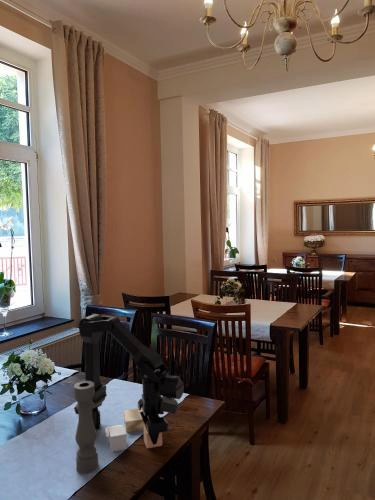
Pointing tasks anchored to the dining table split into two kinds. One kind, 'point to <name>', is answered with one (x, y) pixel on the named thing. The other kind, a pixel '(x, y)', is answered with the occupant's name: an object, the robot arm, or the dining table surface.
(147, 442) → the terracotta block
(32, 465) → the dining table surface
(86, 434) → the candle holder
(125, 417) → the maple base block
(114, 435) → the white cube
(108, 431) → the card
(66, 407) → the dining table surface
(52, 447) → the dining table surface
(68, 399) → the dining table surface
